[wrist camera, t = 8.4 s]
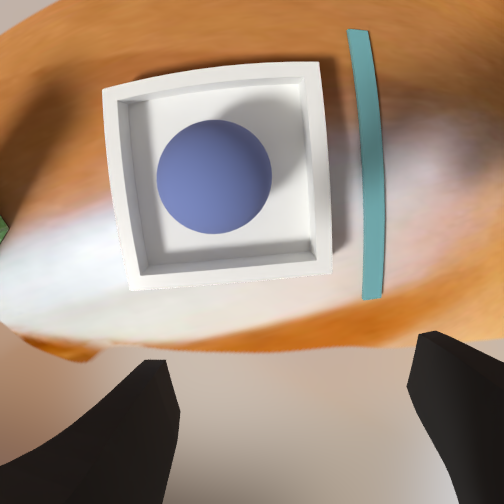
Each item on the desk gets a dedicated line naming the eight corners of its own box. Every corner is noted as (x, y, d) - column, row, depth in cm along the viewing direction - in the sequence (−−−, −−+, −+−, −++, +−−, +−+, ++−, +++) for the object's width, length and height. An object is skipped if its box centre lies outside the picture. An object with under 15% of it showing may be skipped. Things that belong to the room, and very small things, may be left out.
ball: (285, 155, 16) (303, 153, 11) (238, 238, 17) (236, 270, 12) (199, 109, 15) (180, 90, 10) (155, 194, 16) (121, 210, 11)
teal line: (379, 295, 19) (381, 297, 18) (361, 298, 19) (363, 300, 18) (365, 32, 14) (367, 30, 14) (346, 30, 14) (347, 29, 14)
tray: (310, 71, 15) (318, 61, 13) (323, 261, 18) (332, 273, 16) (116, 95, 15) (102, 89, 13) (140, 277, 18) (130, 290, 16)
